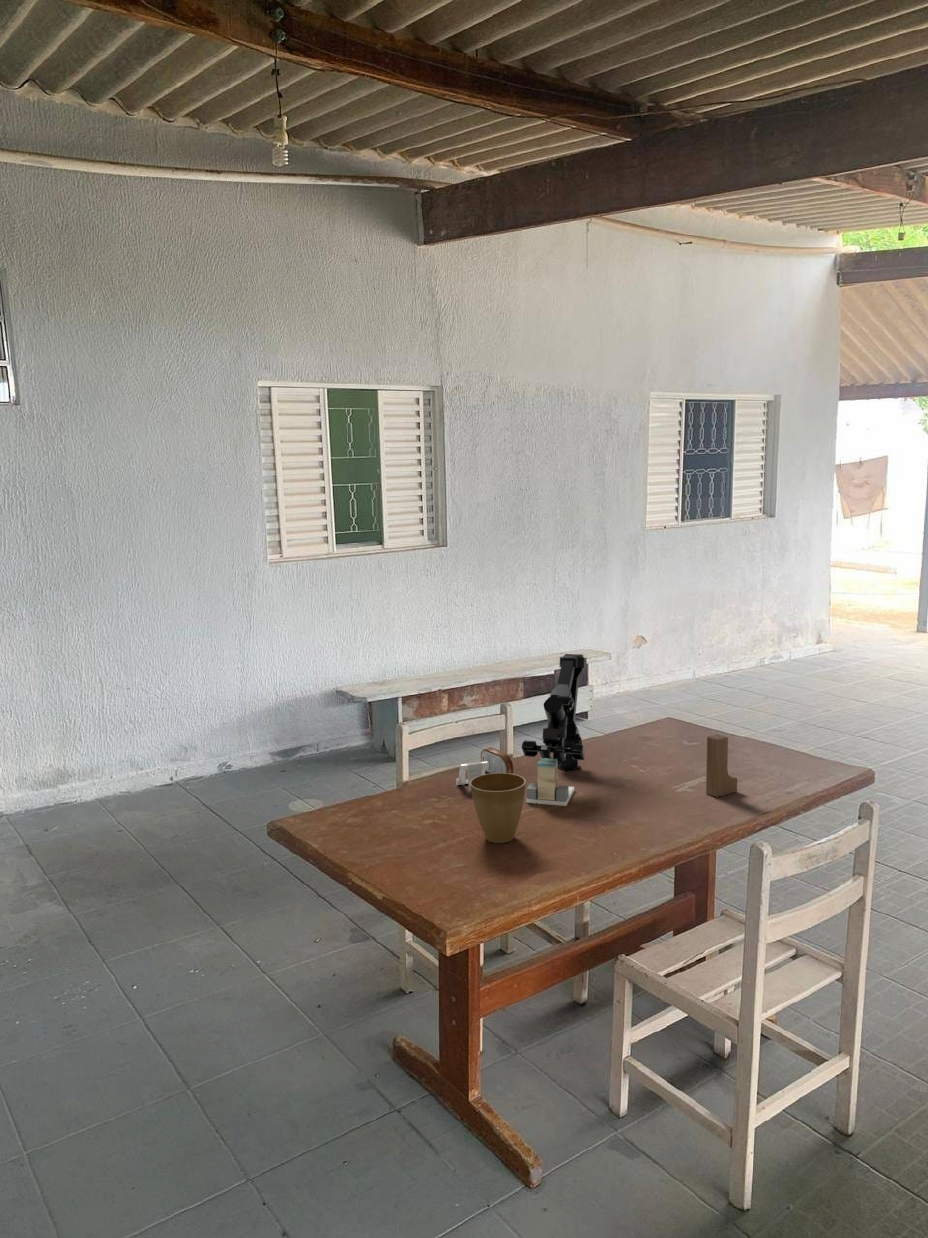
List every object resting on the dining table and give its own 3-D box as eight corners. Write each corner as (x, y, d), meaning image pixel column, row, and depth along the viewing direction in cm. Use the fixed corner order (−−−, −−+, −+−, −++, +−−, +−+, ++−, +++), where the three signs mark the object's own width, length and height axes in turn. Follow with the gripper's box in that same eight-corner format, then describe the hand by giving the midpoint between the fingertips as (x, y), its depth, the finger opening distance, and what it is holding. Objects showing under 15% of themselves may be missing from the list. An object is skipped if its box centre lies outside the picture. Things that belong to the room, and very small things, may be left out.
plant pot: (497, 823, 259) (496, 768, 256) (538, 837, 248) (537, 780, 246) (459, 839, 249) (458, 782, 246) (500, 854, 238) (498, 794, 236)
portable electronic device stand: (481, 781, 295) (481, 756, 294) (490, 789, 288) (489, 763, 286) (456, 785, 292) (455, 759, 291) (464, 793, 285) (463, 766, 284)
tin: (514, 780, 295) (514, 754, 294) (506, 782, 294) (506, 756, 292) (487, 768, 308) (486, 744, 306) (479, 770, 306) (478, 746, 305)
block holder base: (536, 787, 288) (535, 774, 287) (574, 790, 284) (574, 777, 283) (526, 802, 275) (526, 788, 274) (566, 806, 271) (566, 791, 271)
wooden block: (726, 788, 283) (727, 731, 280) (737, 792, 279) (738, 734, 277) (705, 794, 278) (706, 736, 276) (717, 798, 275) (718, 739, 272)
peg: (541, 793, 278) (540, 758, 277) (557, 794, 277) (557, 759, 275) (537, 798, 273) (537, 763, 272) (554, 800, 272) (554, 764, 270)
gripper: (522, 714, 282) (514, 760, 273) (583, 718, 277) (577, 764, 268) (528, 733, 291) (521, 777, 282) (587, 736, 285) (581, 782, 277)
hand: (549, 775), depth 277 cm, fingers closed
